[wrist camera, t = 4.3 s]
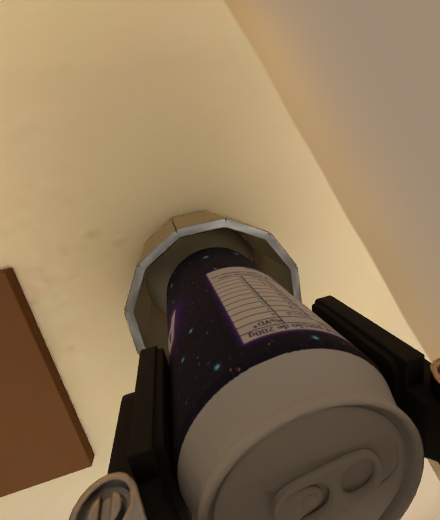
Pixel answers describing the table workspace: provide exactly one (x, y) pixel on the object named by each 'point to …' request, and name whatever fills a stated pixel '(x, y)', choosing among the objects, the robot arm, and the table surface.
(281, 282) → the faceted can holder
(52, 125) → the table surface
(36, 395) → the mat
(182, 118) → the table surface
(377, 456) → the beverage can
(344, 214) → the table surface
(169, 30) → the table surface
